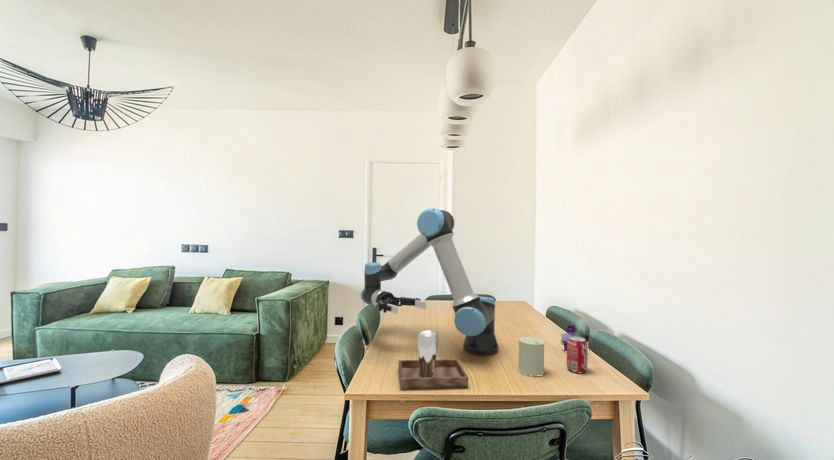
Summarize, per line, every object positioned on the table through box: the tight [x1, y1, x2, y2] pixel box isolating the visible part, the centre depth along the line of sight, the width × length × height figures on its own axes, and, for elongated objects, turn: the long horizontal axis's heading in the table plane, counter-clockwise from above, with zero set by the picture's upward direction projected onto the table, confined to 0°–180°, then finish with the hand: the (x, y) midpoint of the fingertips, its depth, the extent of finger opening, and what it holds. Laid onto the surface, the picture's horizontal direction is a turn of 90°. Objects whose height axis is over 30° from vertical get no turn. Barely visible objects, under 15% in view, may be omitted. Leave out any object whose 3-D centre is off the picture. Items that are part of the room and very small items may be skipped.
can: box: [517, 336, 545, 377], centre depth 124 cm, size 9×9×12 cm
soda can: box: [566, 336, 589, 373], centre depth 125 cm, size 7×7×12 cm
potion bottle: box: [560, 323, 582, 352], centre depth 145 cm, size 9×9×12 cm
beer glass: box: [416, 329, 439, 378], centre depth 115 cm, size 7×7×15 cm
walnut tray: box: [397, 358, 469, 391], centre depth 116 cm, size 22×16×4 cm
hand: (411, 307), depth 130 cm, fingers open, 13 cm apart
